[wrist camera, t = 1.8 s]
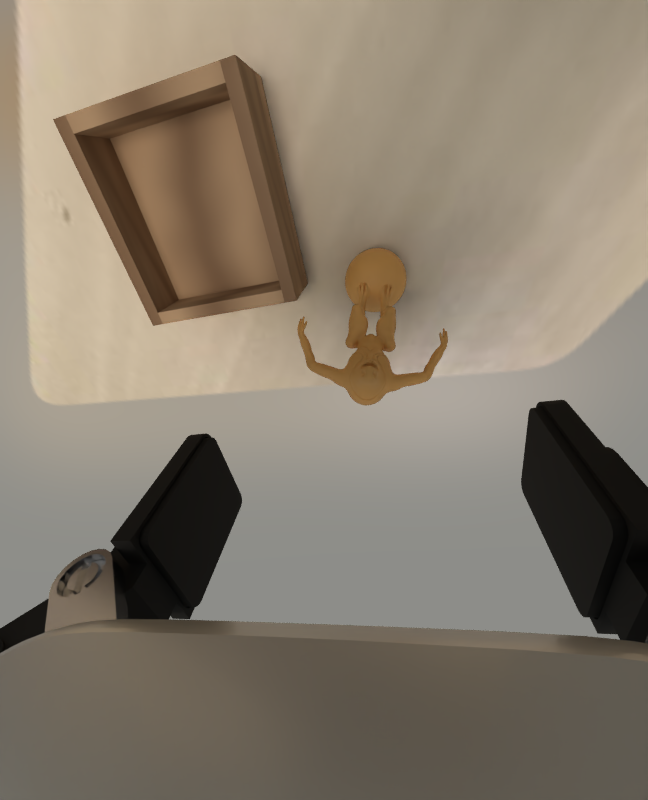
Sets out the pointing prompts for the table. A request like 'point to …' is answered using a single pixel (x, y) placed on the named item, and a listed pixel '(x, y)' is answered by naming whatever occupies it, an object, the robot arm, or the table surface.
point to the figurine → (369, 367)
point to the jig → (192, 192)
